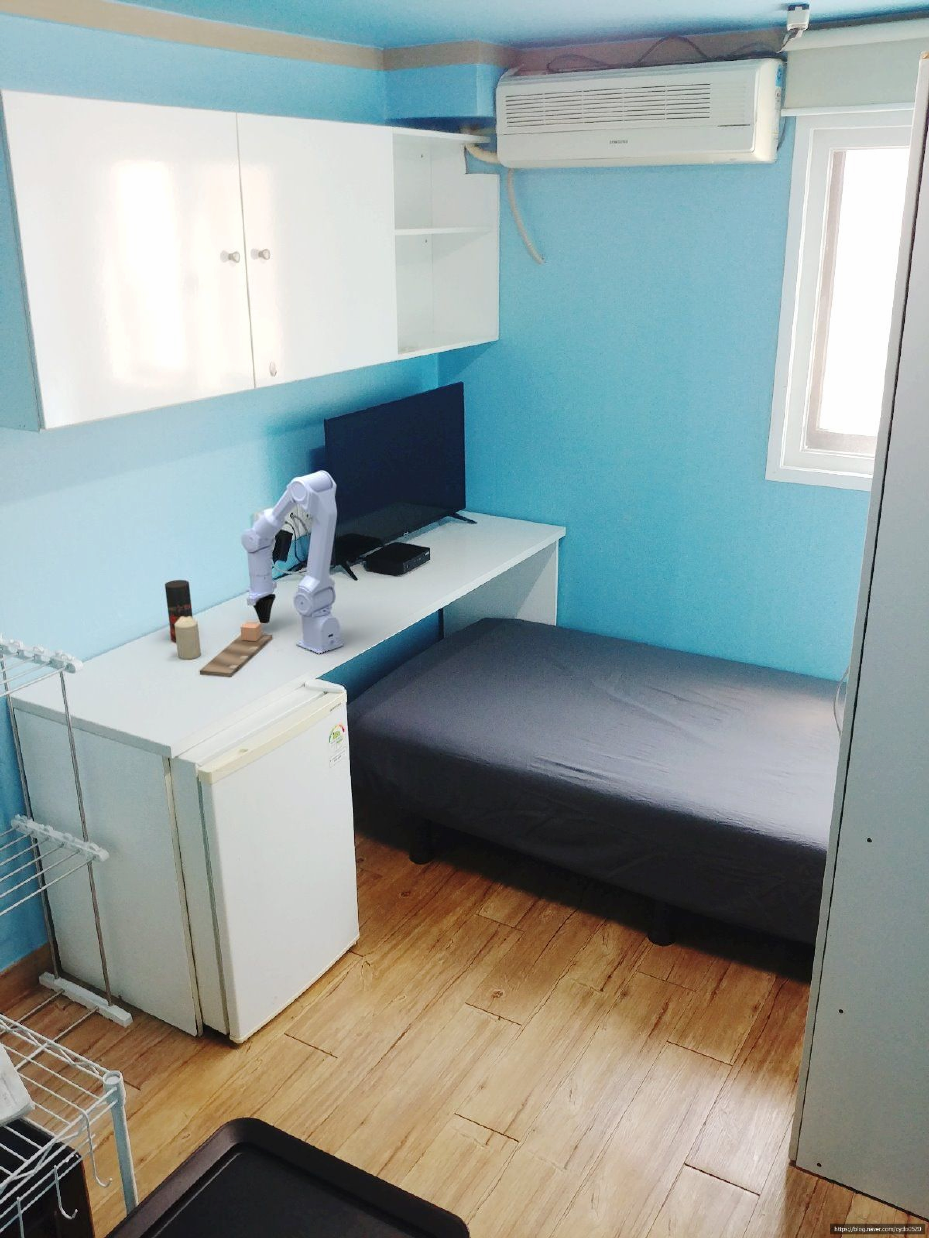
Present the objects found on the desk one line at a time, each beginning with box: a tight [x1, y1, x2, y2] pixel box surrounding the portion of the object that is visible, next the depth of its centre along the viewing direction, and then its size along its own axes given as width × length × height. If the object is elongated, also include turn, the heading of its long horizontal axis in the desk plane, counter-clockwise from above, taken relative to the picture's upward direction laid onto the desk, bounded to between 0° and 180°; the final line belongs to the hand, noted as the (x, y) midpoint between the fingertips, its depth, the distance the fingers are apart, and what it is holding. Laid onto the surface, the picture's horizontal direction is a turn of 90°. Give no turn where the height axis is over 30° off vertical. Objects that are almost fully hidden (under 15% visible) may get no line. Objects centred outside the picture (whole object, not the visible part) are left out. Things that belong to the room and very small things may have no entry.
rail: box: [198, 633, 273, 678], centre depth 266 cm, size 25×8×1 cm, turn 167°
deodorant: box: [164, 579, 194, 644], centre depth 274 cm, size 6×6×15 cm
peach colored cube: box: [240, 621, 264, 641], centre depth 273 cm, size 4×4×4 cm
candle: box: [175, 616, 202, 660], centre depth 265 cm, size 6×6×10 cm
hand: (264, 622), depth 280 cm, fingers closed
